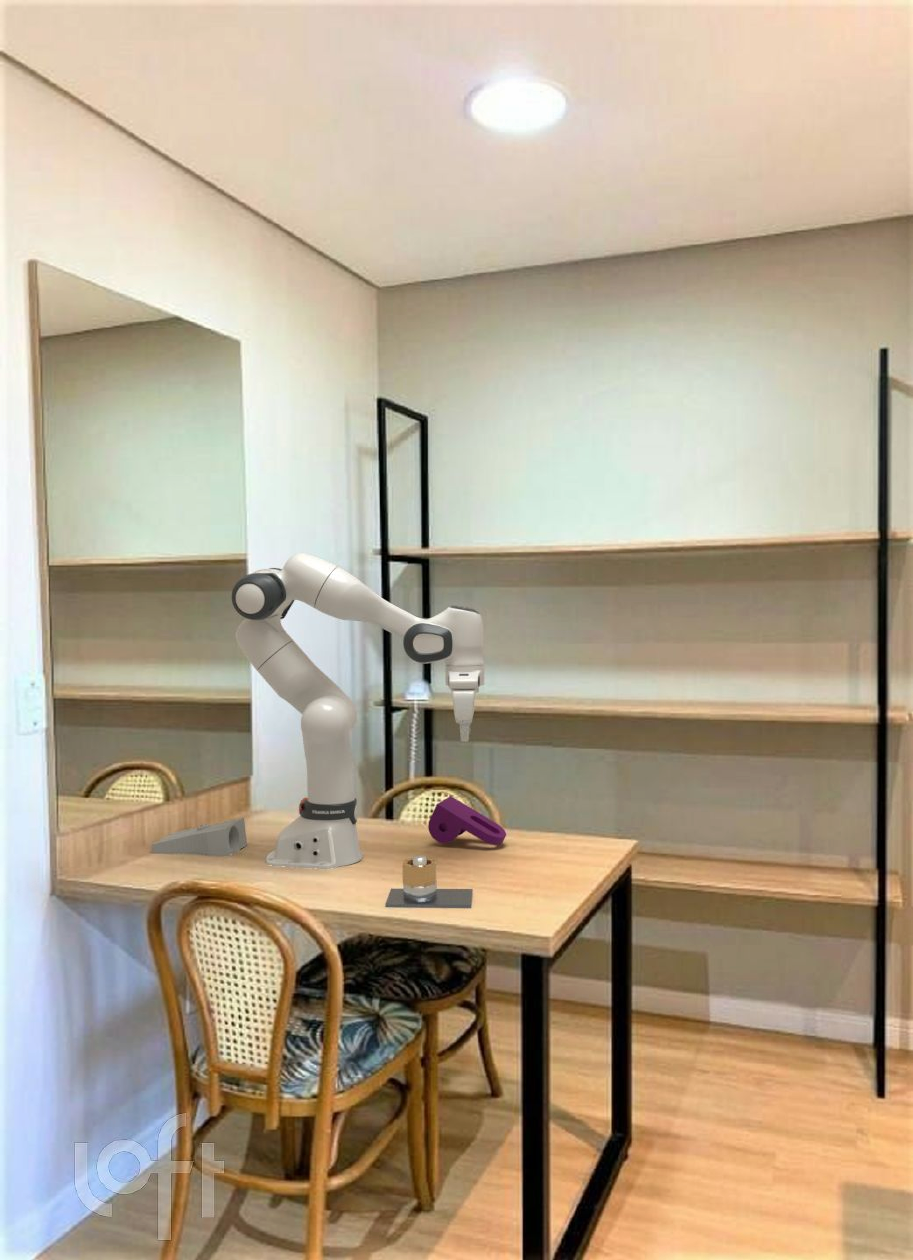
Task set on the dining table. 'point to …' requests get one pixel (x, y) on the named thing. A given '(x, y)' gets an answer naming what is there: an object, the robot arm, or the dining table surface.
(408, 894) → the base with metal peg
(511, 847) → the dining table surface
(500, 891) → the dining table surface
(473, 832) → the mounting bracket
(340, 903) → the dining table surface
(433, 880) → the ring
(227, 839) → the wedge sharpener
